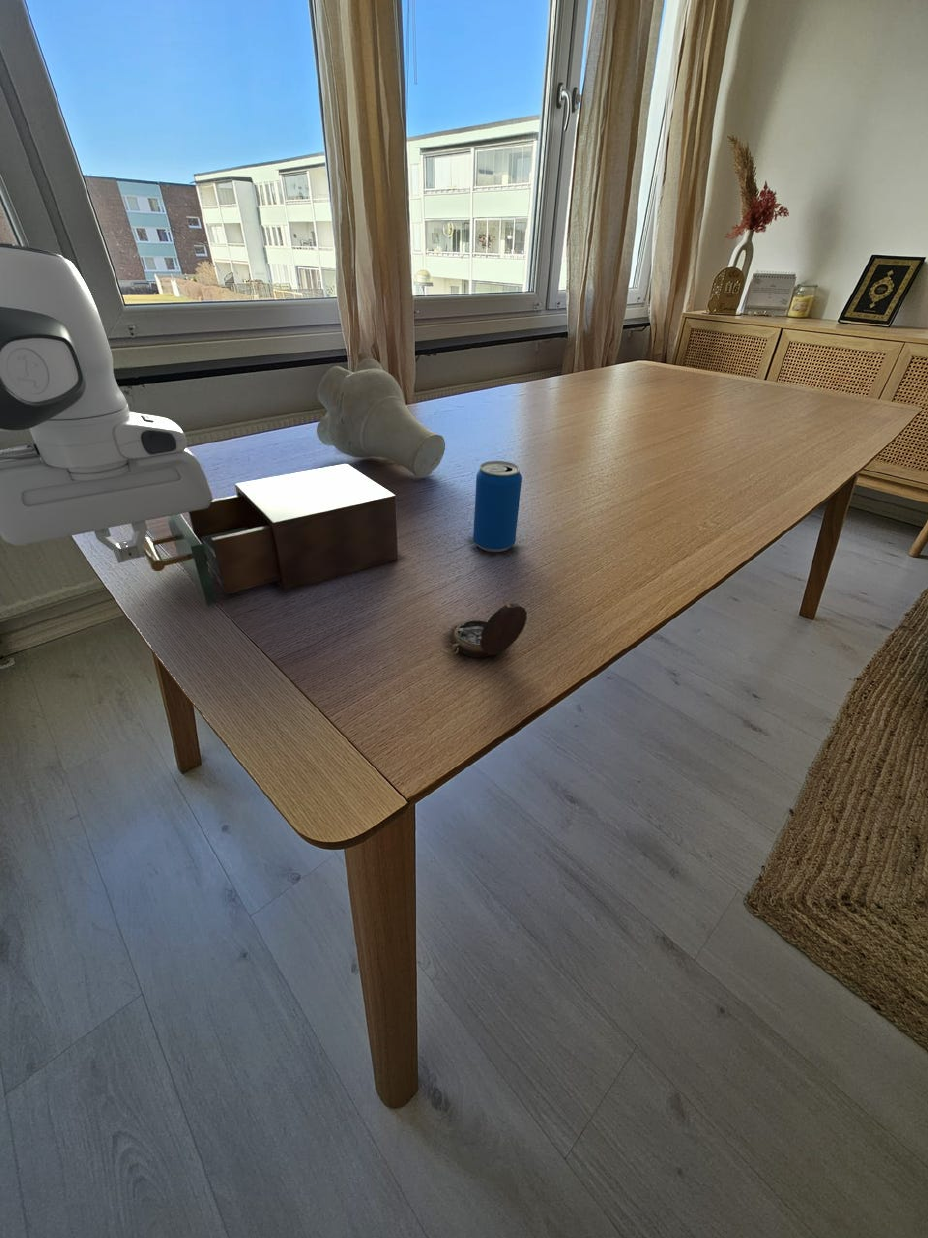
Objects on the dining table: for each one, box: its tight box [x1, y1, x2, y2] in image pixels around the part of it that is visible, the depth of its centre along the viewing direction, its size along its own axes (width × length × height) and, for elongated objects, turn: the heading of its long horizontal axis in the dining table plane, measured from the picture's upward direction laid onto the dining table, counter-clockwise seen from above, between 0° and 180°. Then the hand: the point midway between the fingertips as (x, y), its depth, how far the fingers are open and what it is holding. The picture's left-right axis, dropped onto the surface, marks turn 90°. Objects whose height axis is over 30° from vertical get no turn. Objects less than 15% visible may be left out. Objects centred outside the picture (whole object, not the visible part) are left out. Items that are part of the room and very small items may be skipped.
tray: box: [201, 527, 249, 574], centre depth 70 cm, size 6×9×2 cm, turn 36°
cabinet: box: [234, 463, 399, 593], centre depth 74 cm, size 17×15×10 cm
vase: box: [316, 358, 446, 479], centre depth 103 cm, size 22×22×28 cm
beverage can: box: [472, 460, 523, 553], centre depth 78 cm, size 6×6×12 cm
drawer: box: [141, 494, 281, 606], centre depth 68 cm, size 20×13×8 cm
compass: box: [441, 601, 528, 658], centre depth 58 cm, size 8×8×7 cm
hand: (131, 557), depth 62 cm, fingers closed
